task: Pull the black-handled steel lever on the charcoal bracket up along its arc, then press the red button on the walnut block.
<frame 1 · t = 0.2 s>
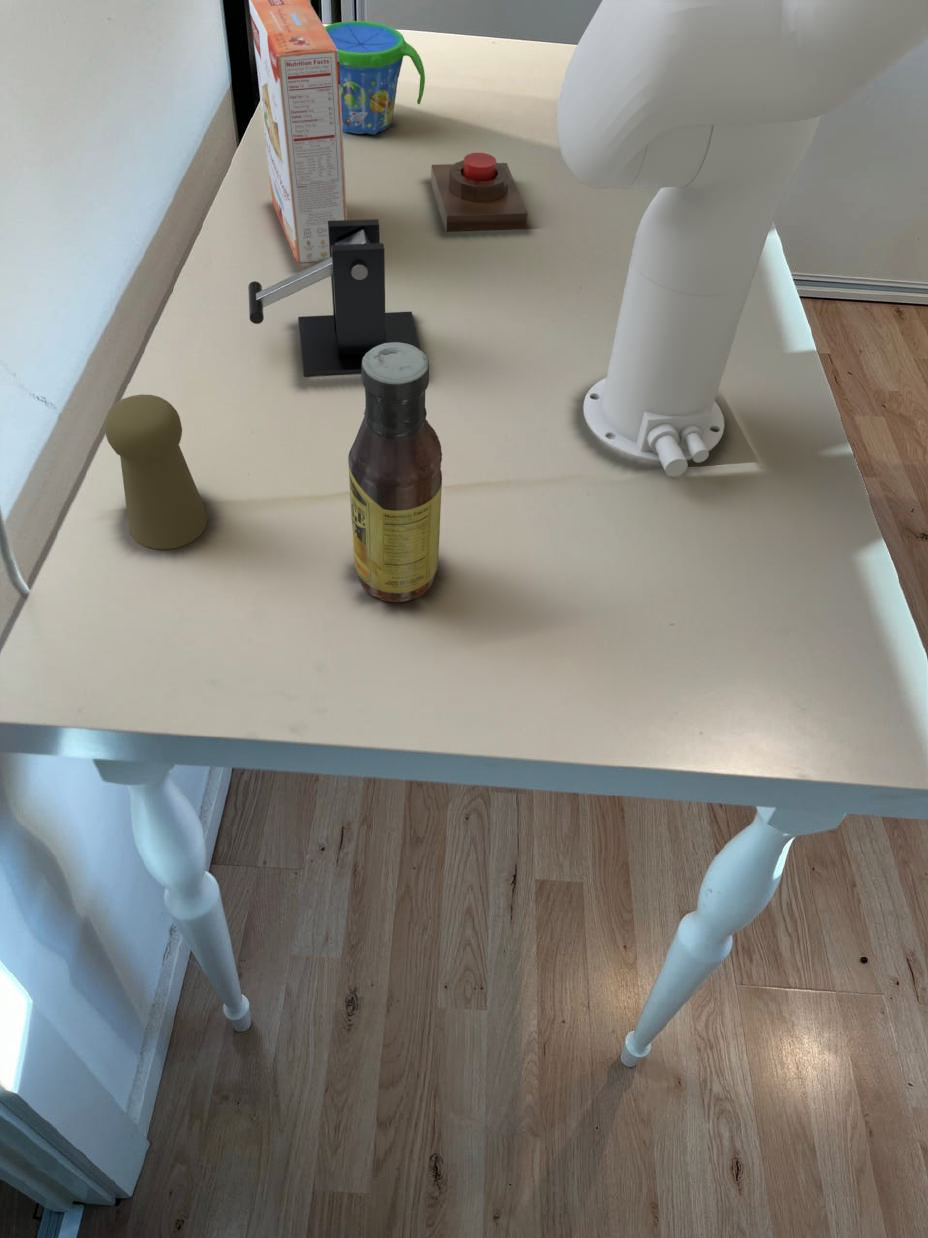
moka pot: (628, 163, 118), on the table
sauce bottle: (396, 580, 71), on the table
button: (479, 167, 105), point 4 cm above the table, slide at 0.1 cm
bracket: (360, 352, 89), on the table
cracker box: (308, 236, 103), on the table
button block: (477, 206, 108), on the table
lever: (309, 276, 83), point 8 cm above the table, hinge at -25.0°
snack cup: (363, 125, 121), on the table
olive pawn: (168, 523, 74), on the table
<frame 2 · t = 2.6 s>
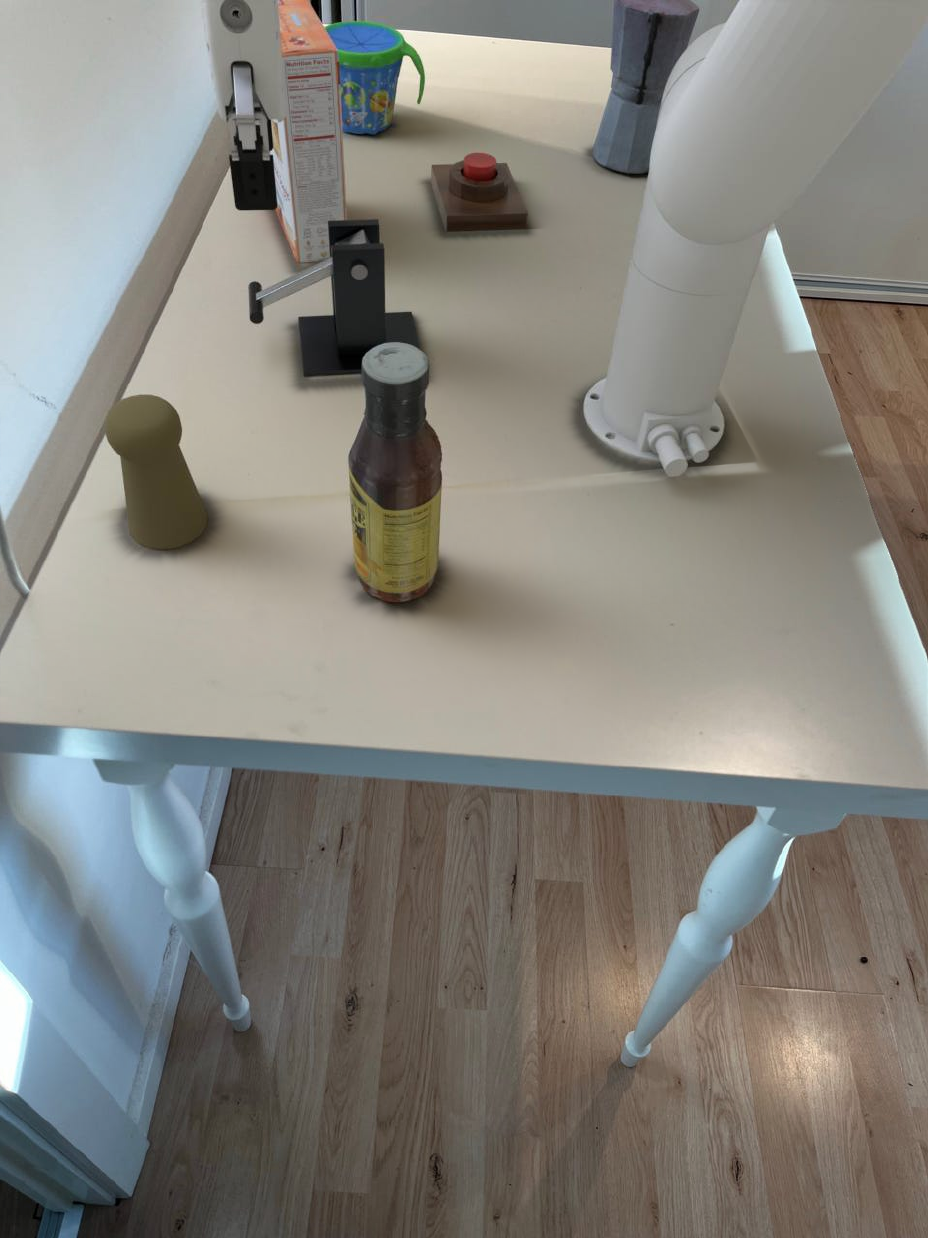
hand: (255, 177, 76), 17 cm above the table, tool pointing down, fingers open, 9 cm apart
nothing on the table moved.
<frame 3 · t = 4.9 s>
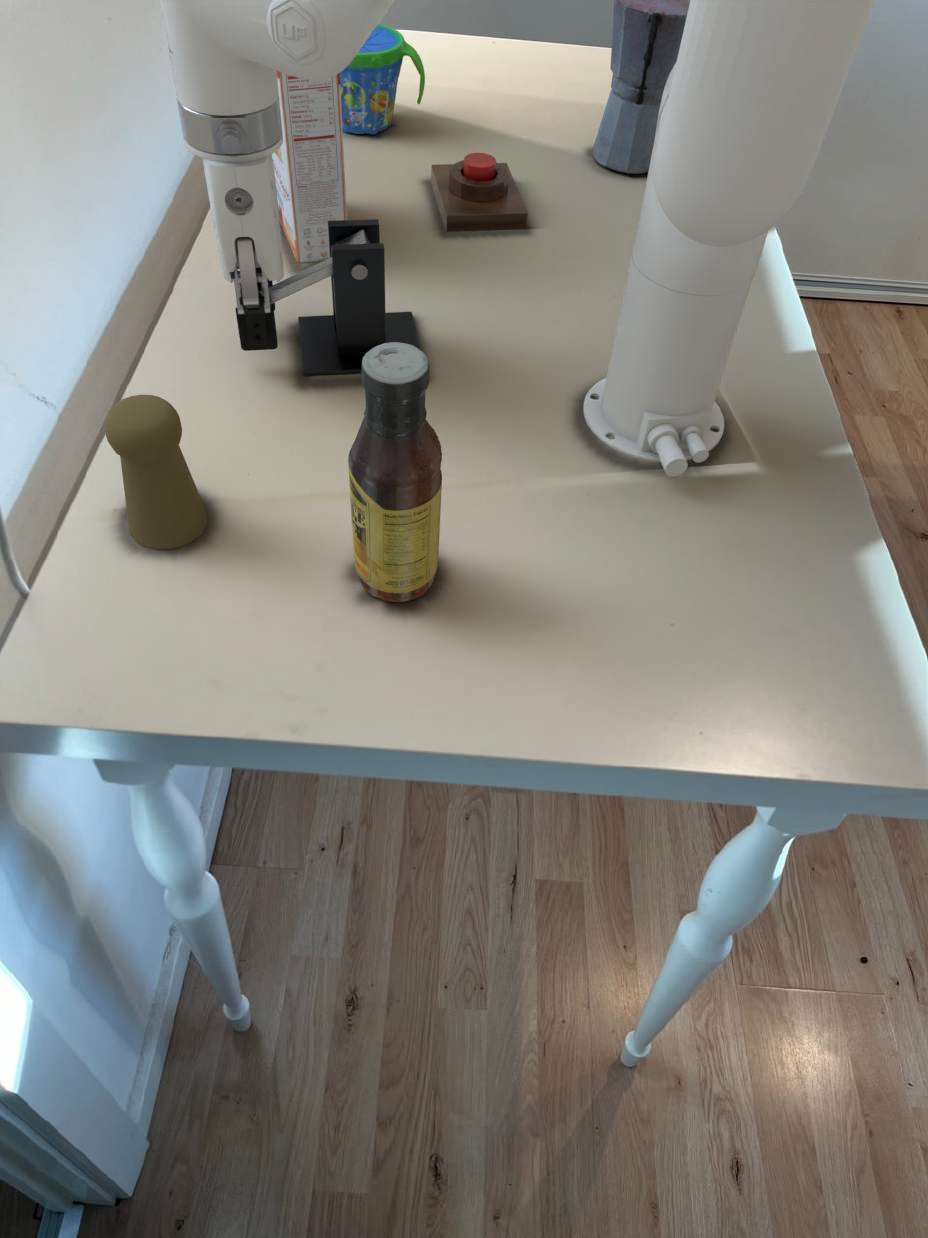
hand: (258, 327, 86), 3 cm above the table, tool pointing down, fingers closed on lever, 5 cm apart
lever: (309, 276, 83), point 8 cm above the table, hinge at -25.0°, touching gripper
everything else where it was.
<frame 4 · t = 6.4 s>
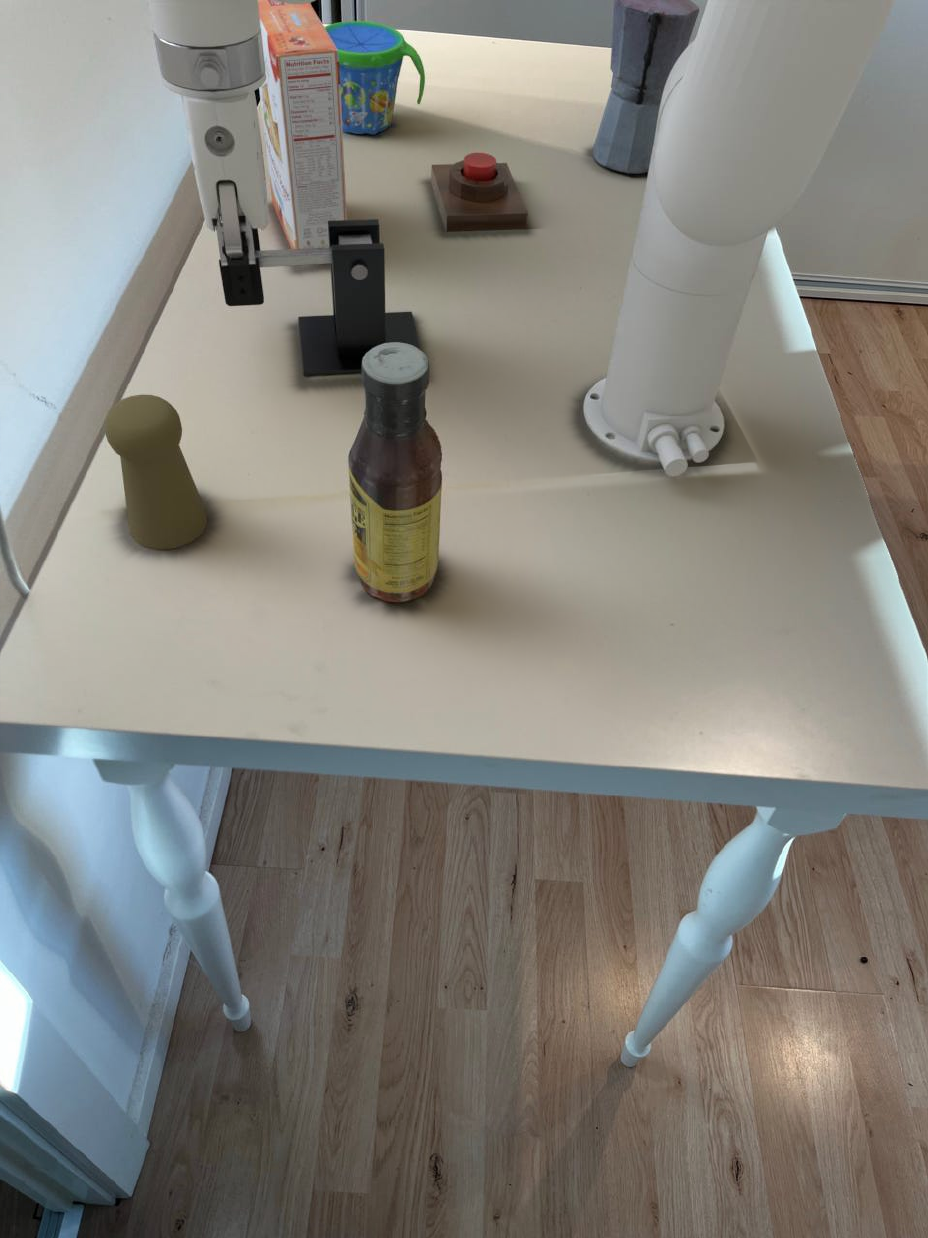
hand: (244, 282, 82), 8 cm above the table, tool pointing down, fingers closed on lever, 5 cm apart
lever: (302, 256, 81), point 10 cm above the table, hinge at -0.8°, touching gripper
everything else where it was.
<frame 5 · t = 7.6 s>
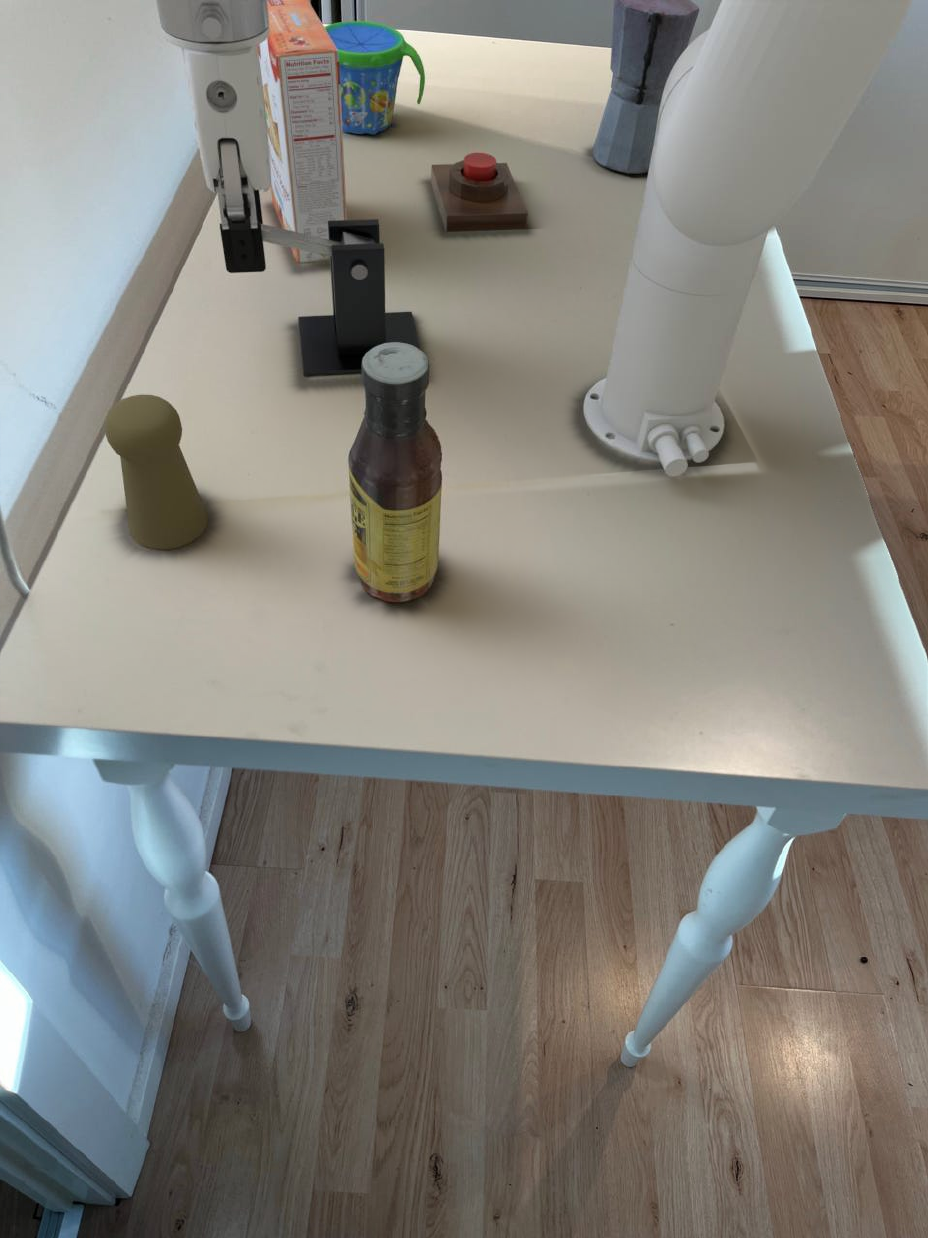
hand: (245, 249, 80), 11 cm above the table, tool pointing down, fingers closed on lever, 5 cm apart
lever: (303, 241, 80), point 11 cm above the table, hinge at 16.0°, touching gripper
everything else where it was.
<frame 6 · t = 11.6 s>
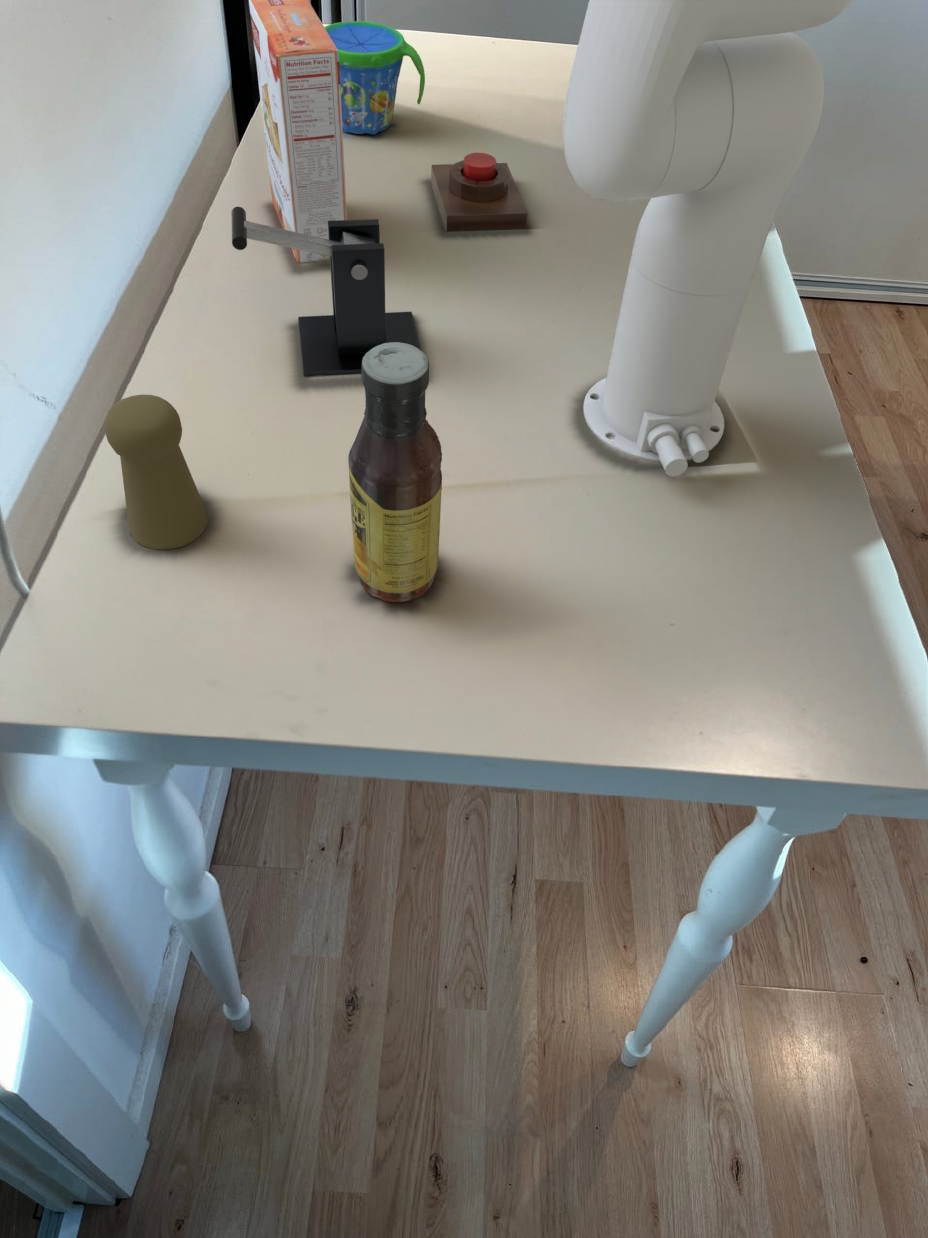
lever: (303, 242, 80), point 11 cm above the table, hinge at 15.7°
everything else where it was.
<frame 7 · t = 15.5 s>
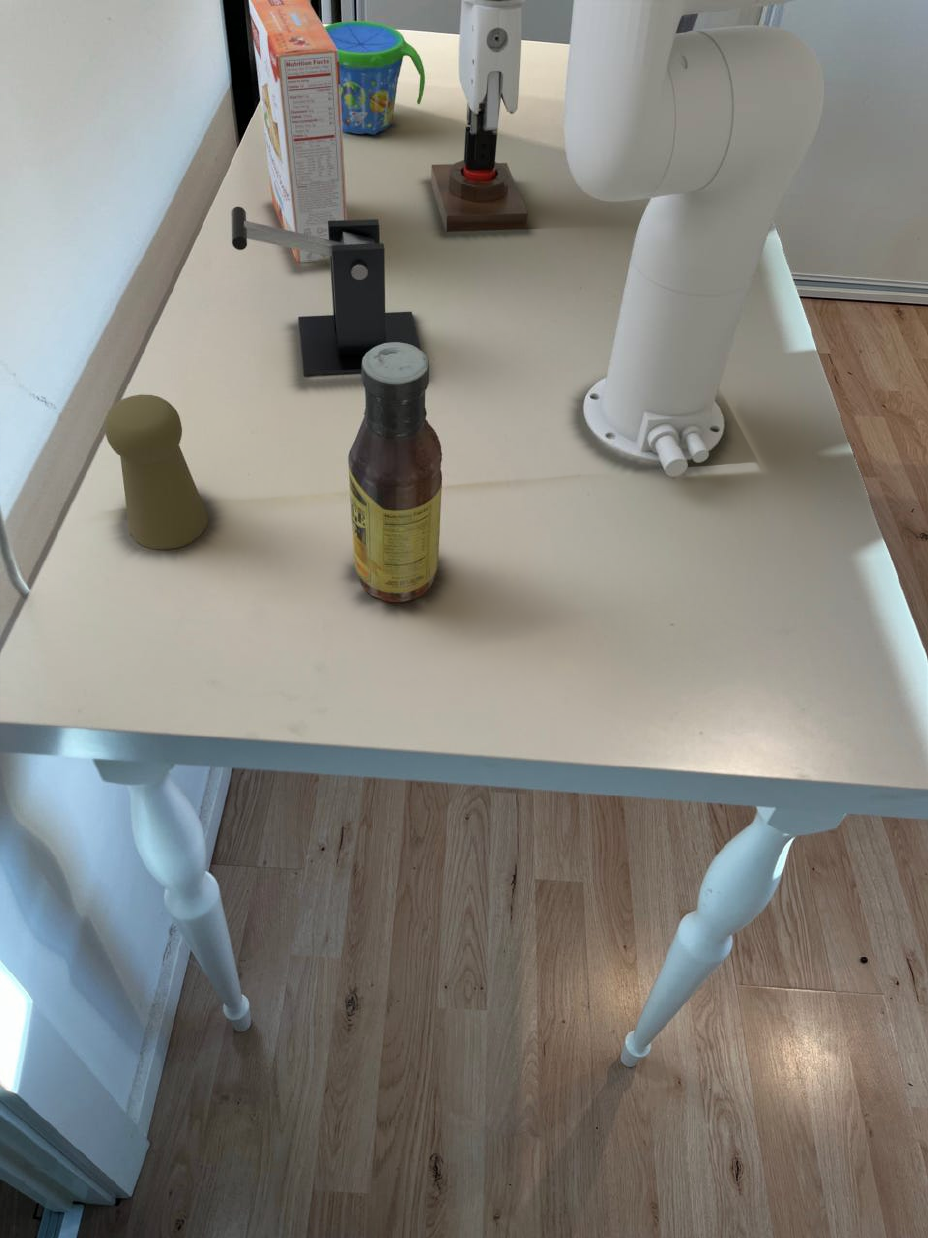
hand: (478, 166, 105), 5 cm above the table, tool pointing down, fingers closed
button: (479, 174, 106), point 4 cm above the table, slide at -0.7 cm, touching gripper
everything else where it was.
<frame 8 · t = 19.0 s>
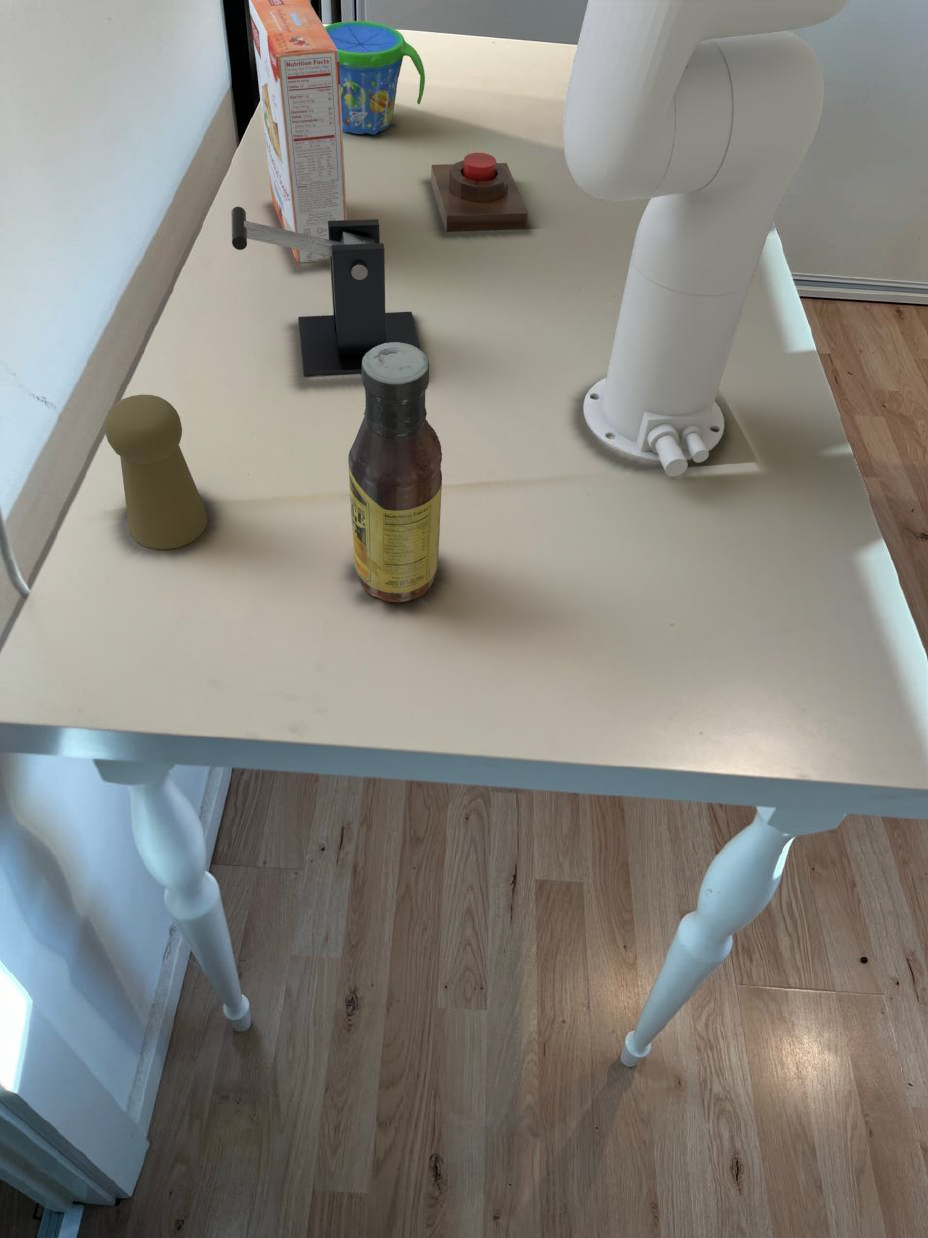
button: (479, 167, 105), point 4 cm above the table, slide at 0.1 cm
everything else where it was.
at the end: lever at +16° (first picture: -25°); button pushed in 1.1 cm at the most during the clip, back to where it started at the end; button slide at 0.1 cm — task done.
